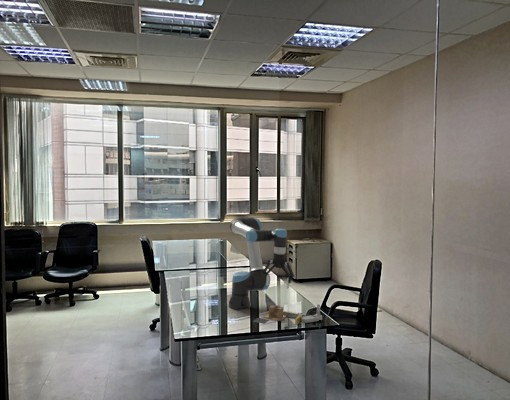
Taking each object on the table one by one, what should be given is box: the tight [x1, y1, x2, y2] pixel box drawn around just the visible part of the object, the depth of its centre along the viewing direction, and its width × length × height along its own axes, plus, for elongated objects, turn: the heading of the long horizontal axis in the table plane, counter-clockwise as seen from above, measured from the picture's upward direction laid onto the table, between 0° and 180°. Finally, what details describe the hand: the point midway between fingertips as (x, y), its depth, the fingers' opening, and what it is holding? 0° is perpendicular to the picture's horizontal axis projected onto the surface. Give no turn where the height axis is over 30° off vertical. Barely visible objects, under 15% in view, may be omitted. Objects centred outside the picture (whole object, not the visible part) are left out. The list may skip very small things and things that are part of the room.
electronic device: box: [300, 304, 323, 324], centre depth 255 cm, size 5×10×15 cm
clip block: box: [268, 304, 284, 319], centre depth 255 cm, size 8×5×7 cm, turn 67°
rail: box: [283, 310, 303, 325], centre depth 255 cm, size 22×11×4 cm, turn 67°
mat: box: [252, 317, 270, 325], centre depth 248 cm, size 8×8×1 cm
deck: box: [262, 311, 287, 322], centre depth 255 cm, size 21×11×1 cm, turn 67°
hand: (277, 286), depth 255 cm, fingers open, 13 cm apart
